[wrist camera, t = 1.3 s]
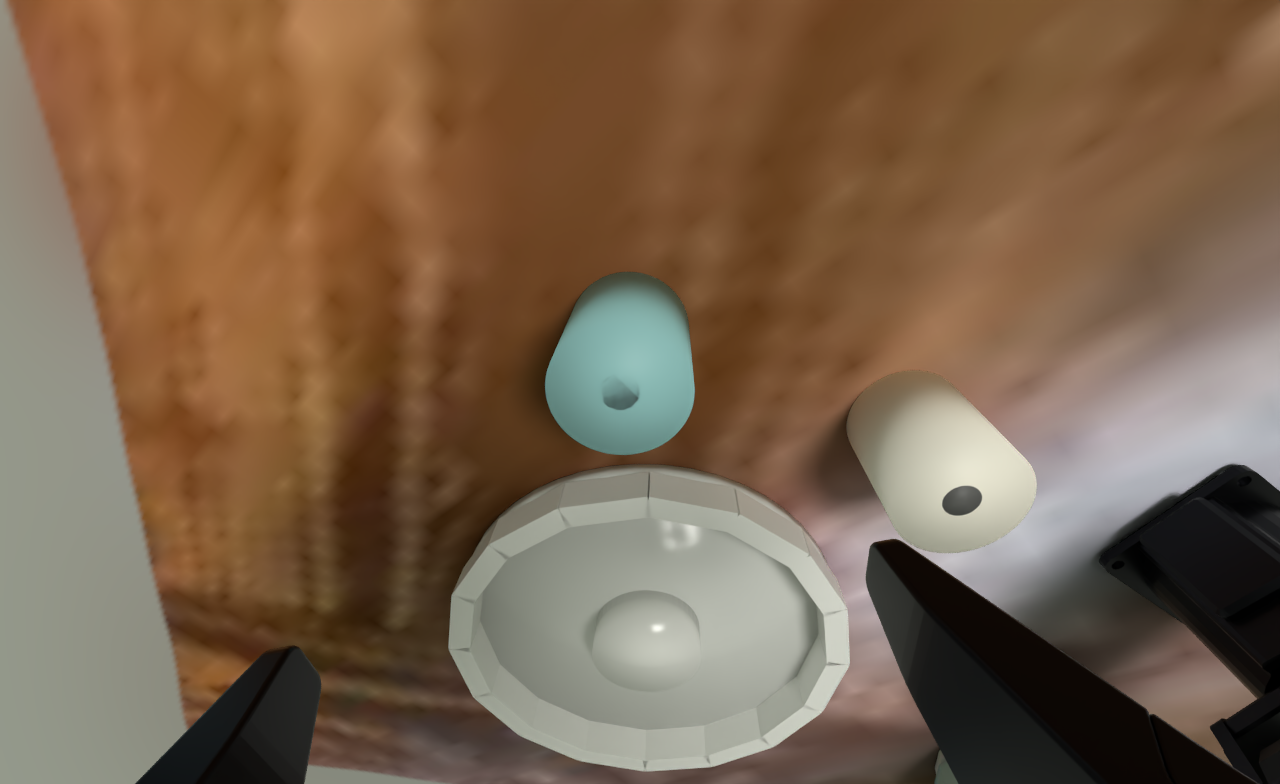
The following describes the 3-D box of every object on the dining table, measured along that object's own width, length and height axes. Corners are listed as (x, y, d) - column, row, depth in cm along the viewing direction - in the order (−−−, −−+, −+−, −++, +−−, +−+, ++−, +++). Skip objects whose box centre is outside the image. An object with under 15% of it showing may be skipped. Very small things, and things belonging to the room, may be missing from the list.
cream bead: (986, 408, 22) (1067, 488, 17) (902, 483, 24) (956, 572, 19) (904, 349, 21) (968, 417, 16) (823, 431, 23) (860, 513, 18)
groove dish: (916, 586, 26) (938, 629, 24) (687, 762, 34) (689, 807, 32) (587, 388, 22) (579, 420, 20) (409, 638, 30) (389, 680, 27)
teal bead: (713, 315, 21) (725, 376, 16) (645, 402, 22) (640, 477, 18) (611, 247, 20) (595, 291, 15) (549, 343, 21) (518, 408, 17)
